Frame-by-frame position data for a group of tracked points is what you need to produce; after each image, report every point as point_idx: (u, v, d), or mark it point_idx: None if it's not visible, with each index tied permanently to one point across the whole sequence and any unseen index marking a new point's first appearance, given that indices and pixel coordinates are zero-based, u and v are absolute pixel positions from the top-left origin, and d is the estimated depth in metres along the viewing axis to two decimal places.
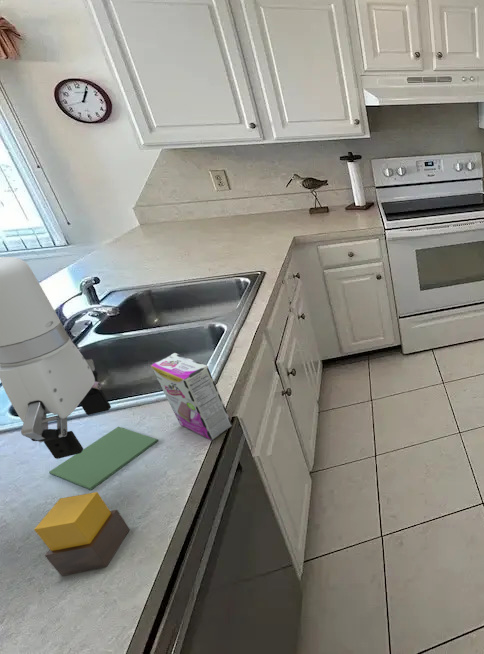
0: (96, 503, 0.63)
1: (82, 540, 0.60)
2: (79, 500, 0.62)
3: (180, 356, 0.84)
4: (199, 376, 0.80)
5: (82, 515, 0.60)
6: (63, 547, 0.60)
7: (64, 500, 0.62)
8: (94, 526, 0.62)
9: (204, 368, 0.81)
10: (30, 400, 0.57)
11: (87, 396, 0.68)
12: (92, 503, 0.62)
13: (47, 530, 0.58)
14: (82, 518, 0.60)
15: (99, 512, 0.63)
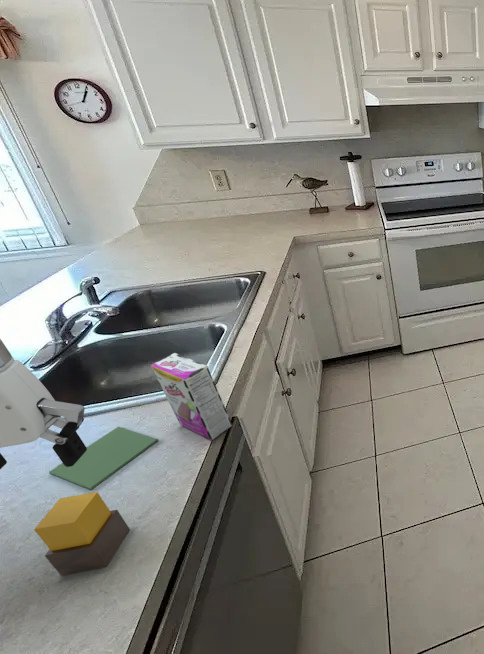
0: (96, 503, 0.63)
1: (82, 540, 0.60)
2: (79, 500, 0.62)
3: (180, 356, 0.84)
4: (199, 376, 0.80)
5: (82, 515, 0.60)
6: (63, 547, 0.60)
7: (64, 500, 0.62)
8: (94, 526, 0.62)
9: (204, 368, 0.81)
10: (37, 399, 0.53)
11: None
12: (92, 503, 0.62)
13: (47, 530, 0.58)
14: (82, 518, 0.60)
15: (99, 512, 0.63)
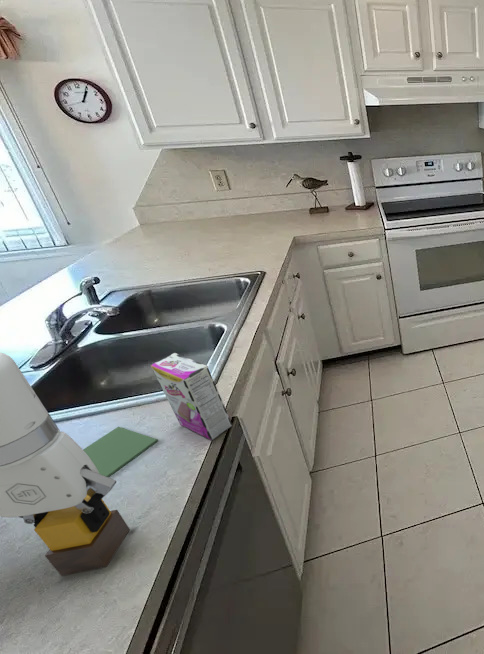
0: None
1: (82, 540, 0.60)
2: None
3: (180, 356, 0.84)
4: (199, 376, 0.80)
5: None
6: (63, 547, 0.60)
7: None
8: None
9: (204, 368, 0.81)
10: (80, 467, 0.58)
11: None
12: None
13: (47, 530, 0.58)
14: None
15: None
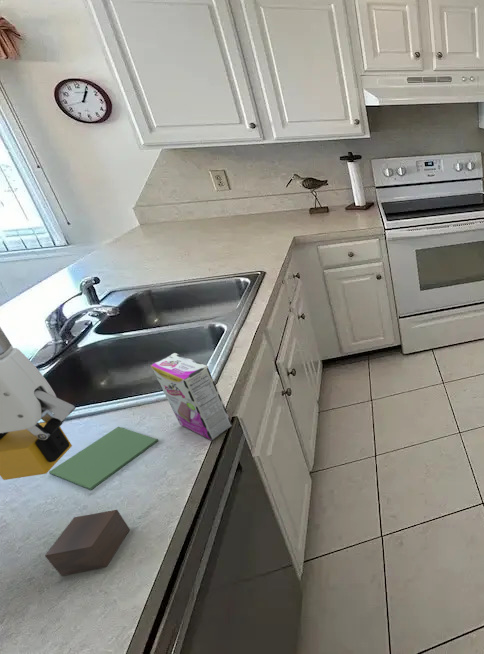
0: None
1: (37, 469, 0.56)
2: None
3: (180, 356, 0.84)
4: (198, 376, 0.80)
5: None
6: (16, 476, 0.56)
7: None
8: None
9: (204, 368, 0.81)
10: (34, 387, 0.54)
11: None
12: None
13: None
14: None
15: None
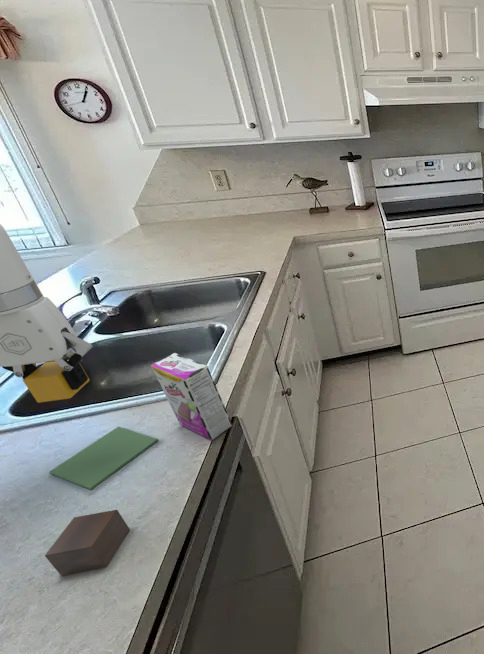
0: None
1: (63, 394, 0.71)
2: None
3: (180, 356, 0.84)
4: (199, 376, 0.80)
5: None
6: (47, 399, 0.71)
7: (49, 363, 0.73)
8: None
9: (204, 368, 0.81)
10: (61, 327, 0.69)
11: None
12: None
13: (33, 382, 0.70)
14: None
15: None
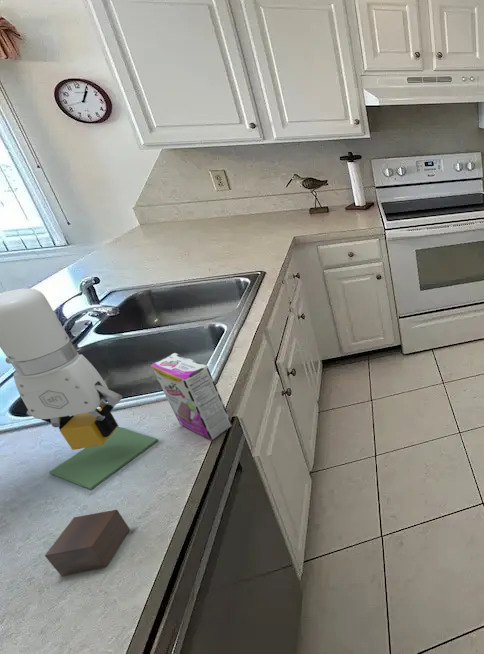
0: None
1: (96, 441, 0.77)
2: None
3: (180, 356, 0.84)
4: (199, 376, 0.80)
5: None
6: (82, 447, 0.77)
7: None
8: None
9: (204, 368, 0.81)
10: (94, 382, 0.75)
11: None
12: None
13: (69, 432, 0.76)
14: None
15: None
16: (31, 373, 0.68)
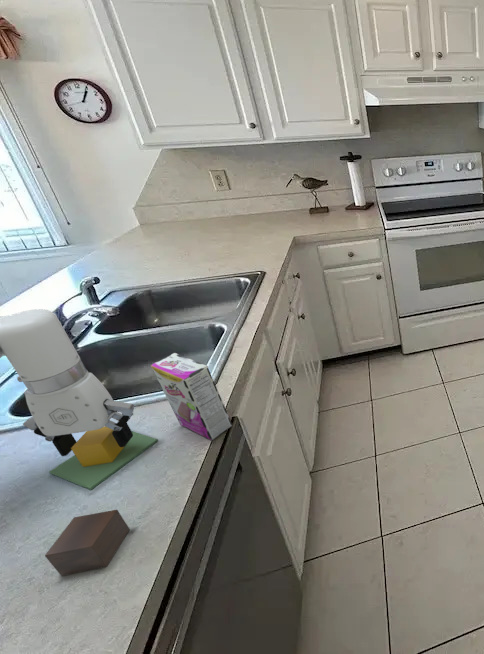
0: None
1: (106, 459, 0.79)
2: (104, 430, 0.81)
3: (180, 356, 0.84)
4: (198, 376, 0.80)
5: (106, 440, 0.79)
6: (92, 464, 0.79)
7: None
8: (115, 449, 0.81)
9: (204, 368, 0.81)
10: (103, 400, 0.77)
11: (62, 436, 0.78)
12: None
13: (80, 449, 0.77)
14: (106, 442, 0.79)
15: None
16: (42, 392, 0.70)
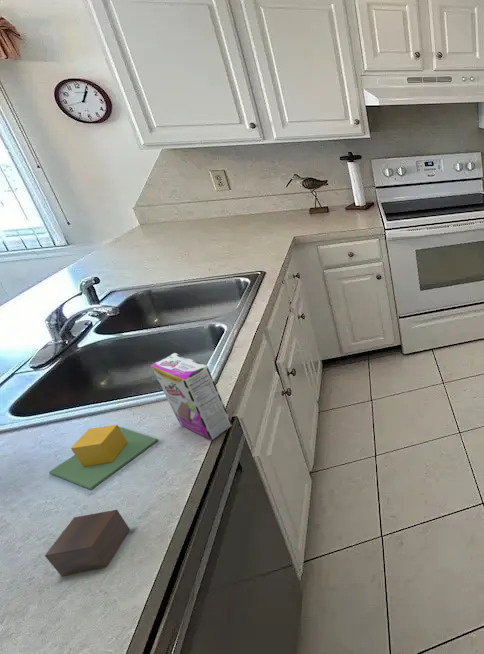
0: (116, 432, 0.82)
1: (106, 459, 0.79)
2: (104, 430, 0.81)
3: (180, 356, 0.84)
4: (198, 376, 0.80)
5: (106, 440, 0.79)
6: (92, 464, 0.79)
7: (92, 429, 0.81)
8: (115, 449, 0.81)
9: (204, 368, 0.81)
10: None
11: None
12: (113, 432, 0.81)
13: (80, 449, 0.77)
14: (106, 442, 0.79)
15: (118, 440, 0.82)
16: None
